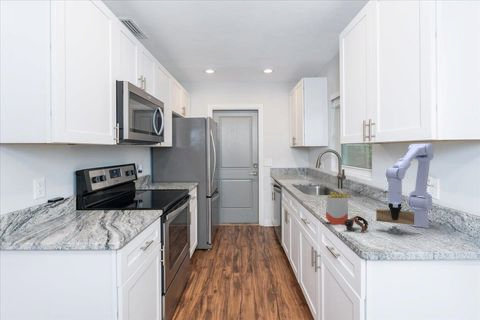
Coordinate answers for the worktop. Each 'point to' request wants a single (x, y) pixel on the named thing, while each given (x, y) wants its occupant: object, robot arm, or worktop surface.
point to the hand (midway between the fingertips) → (394, 219)
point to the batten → (402, 218)
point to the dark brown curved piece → (350, 222)
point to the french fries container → (337, 208)
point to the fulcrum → (394, 230)
